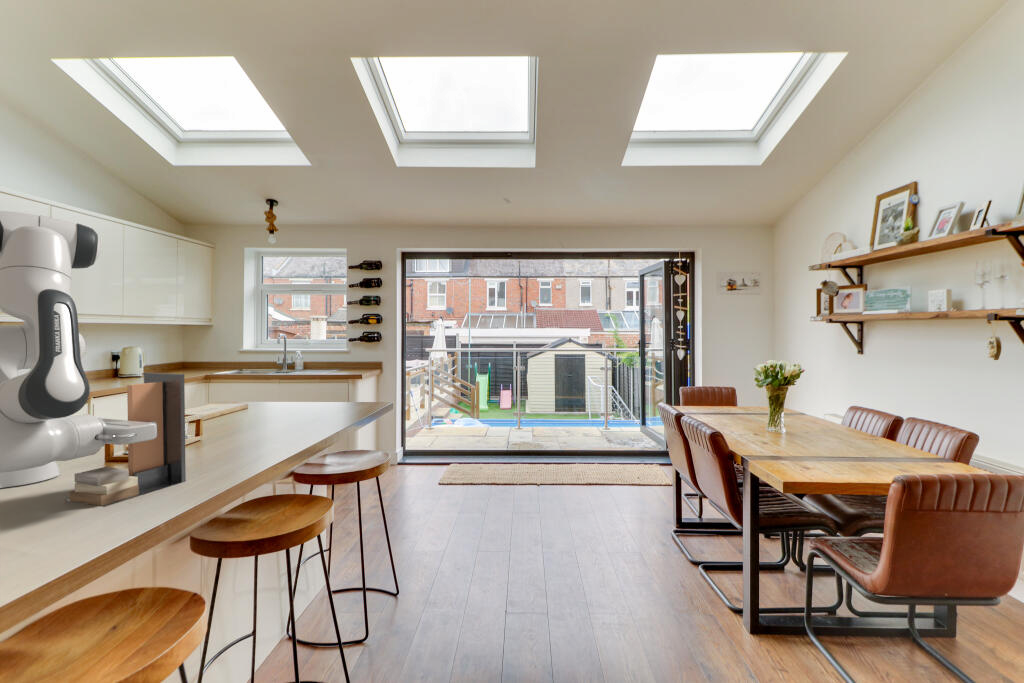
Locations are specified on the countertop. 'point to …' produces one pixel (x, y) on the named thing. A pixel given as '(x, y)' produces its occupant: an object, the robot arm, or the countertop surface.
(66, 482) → the countertop surface
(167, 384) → the rack
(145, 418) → the sheet
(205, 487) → the countertop surface
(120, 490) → the offcut stack
